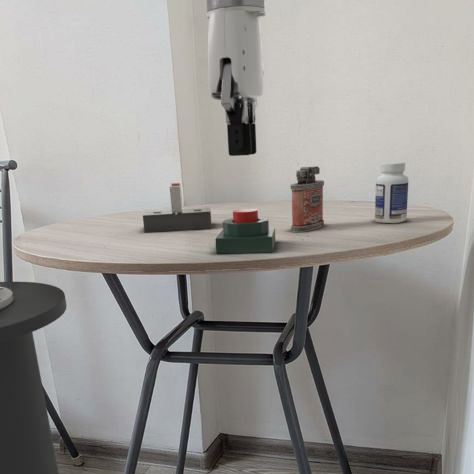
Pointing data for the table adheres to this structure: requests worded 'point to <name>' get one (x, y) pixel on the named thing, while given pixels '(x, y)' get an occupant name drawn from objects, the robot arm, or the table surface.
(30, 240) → the table surface
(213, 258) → the table surface
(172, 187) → the light grey block
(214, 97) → the robot arm
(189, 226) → the panel
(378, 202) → the pill bottle
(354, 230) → the table surface
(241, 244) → the green button base
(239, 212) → the stop button
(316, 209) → the lighter
